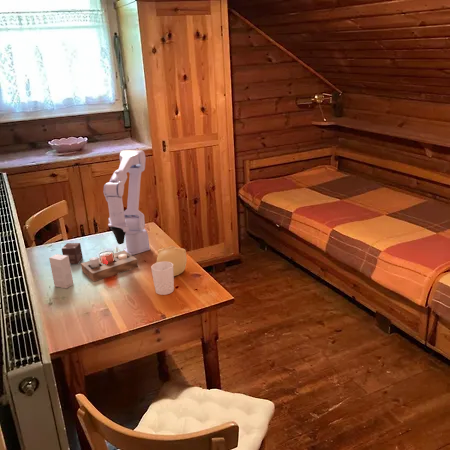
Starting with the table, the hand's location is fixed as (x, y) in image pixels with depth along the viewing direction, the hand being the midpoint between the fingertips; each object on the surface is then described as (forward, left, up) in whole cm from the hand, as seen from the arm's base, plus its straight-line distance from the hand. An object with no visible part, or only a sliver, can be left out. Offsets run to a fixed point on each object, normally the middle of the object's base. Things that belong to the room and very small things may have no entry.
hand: (120, 243), depth 201 cm
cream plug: (0, 0, -9) cm, 9 cm away
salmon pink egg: (+6, 0, -7) cm, 9 cm away
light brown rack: (+6, 0, -10) cm, 11 cm away
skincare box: (+26, +1, -10) cm, 27 cm away
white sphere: (+12, 0, -7) cm, 14 cm away
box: (+15, -18, -10) cm, 25 cm away
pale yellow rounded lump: (-11, +20, -10) cm, 25 cm away
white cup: (-1, +31, -10) cm, 33 cm away
